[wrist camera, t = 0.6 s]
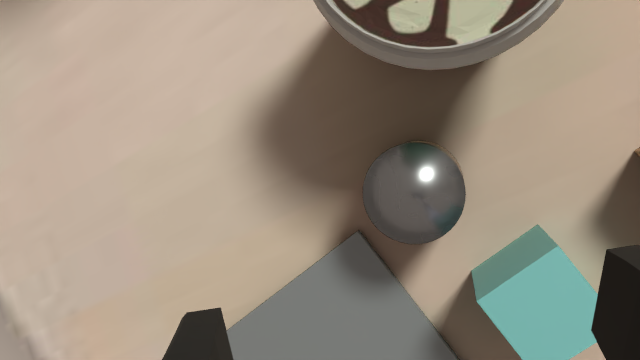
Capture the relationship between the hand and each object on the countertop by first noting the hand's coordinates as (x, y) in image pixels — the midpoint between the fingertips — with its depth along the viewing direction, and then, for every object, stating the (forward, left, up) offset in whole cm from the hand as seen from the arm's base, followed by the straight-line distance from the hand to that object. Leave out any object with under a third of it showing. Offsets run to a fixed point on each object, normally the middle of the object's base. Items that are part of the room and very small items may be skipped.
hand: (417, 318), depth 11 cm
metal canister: (+1, +1, -22) cm, 22 cm away
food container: (+7, -6, -23) cm, 24 cm away
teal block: (-7, -1, -22) cm, 24 cm away
